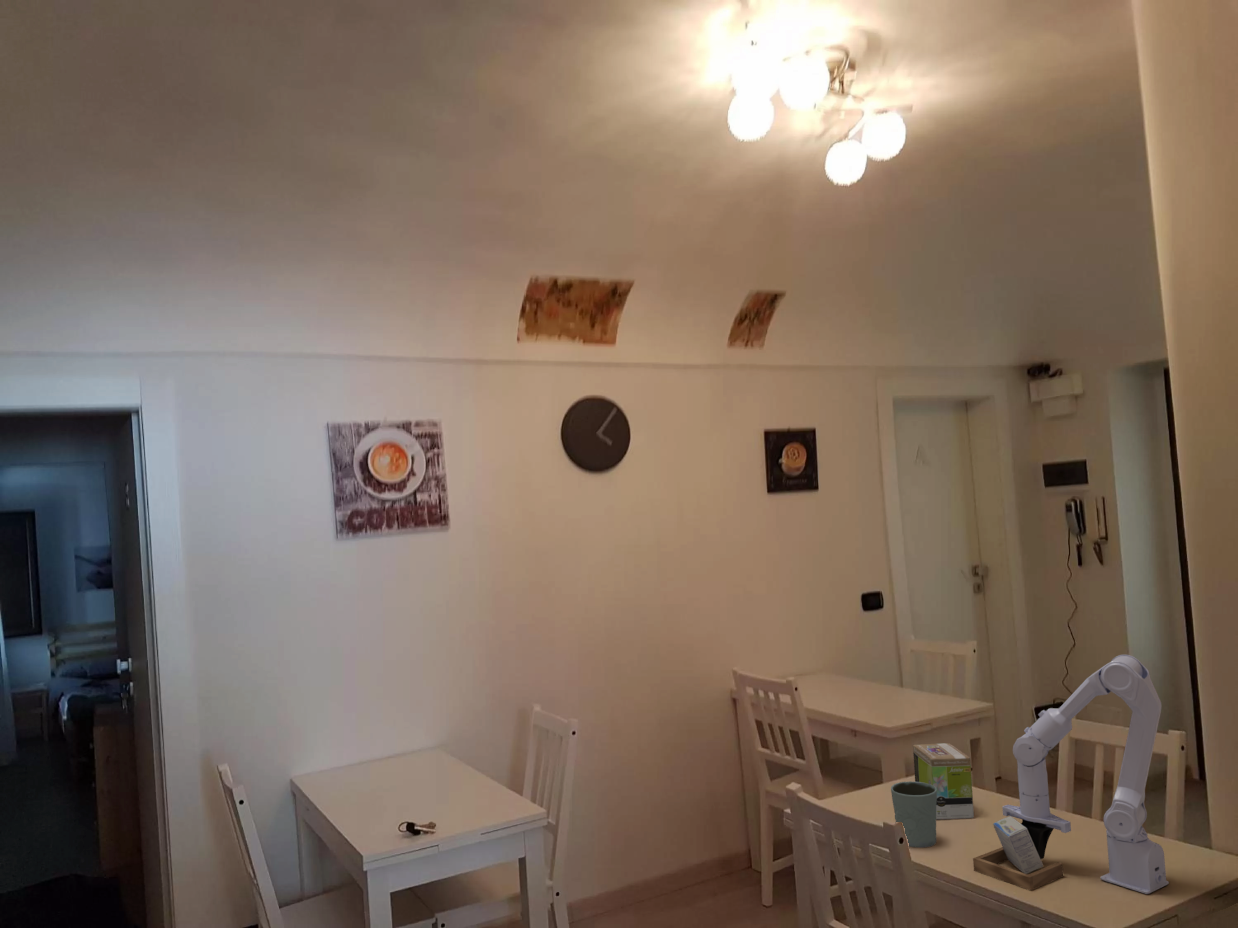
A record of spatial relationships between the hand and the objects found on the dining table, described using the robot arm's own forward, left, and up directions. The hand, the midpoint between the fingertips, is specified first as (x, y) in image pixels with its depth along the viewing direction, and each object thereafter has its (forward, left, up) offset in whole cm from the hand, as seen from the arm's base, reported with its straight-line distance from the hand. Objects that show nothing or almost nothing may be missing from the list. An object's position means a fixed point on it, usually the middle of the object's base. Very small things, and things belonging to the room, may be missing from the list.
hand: (1038, 857), depth 194 cm
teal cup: (+25, +8, -2) cm, 26 cm away
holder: (0, +7, -1) cm, 7 cm away
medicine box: (+1, +3, -1) cm, 3 cm away
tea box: (+35, -14, -2) cm, 38 cm away
